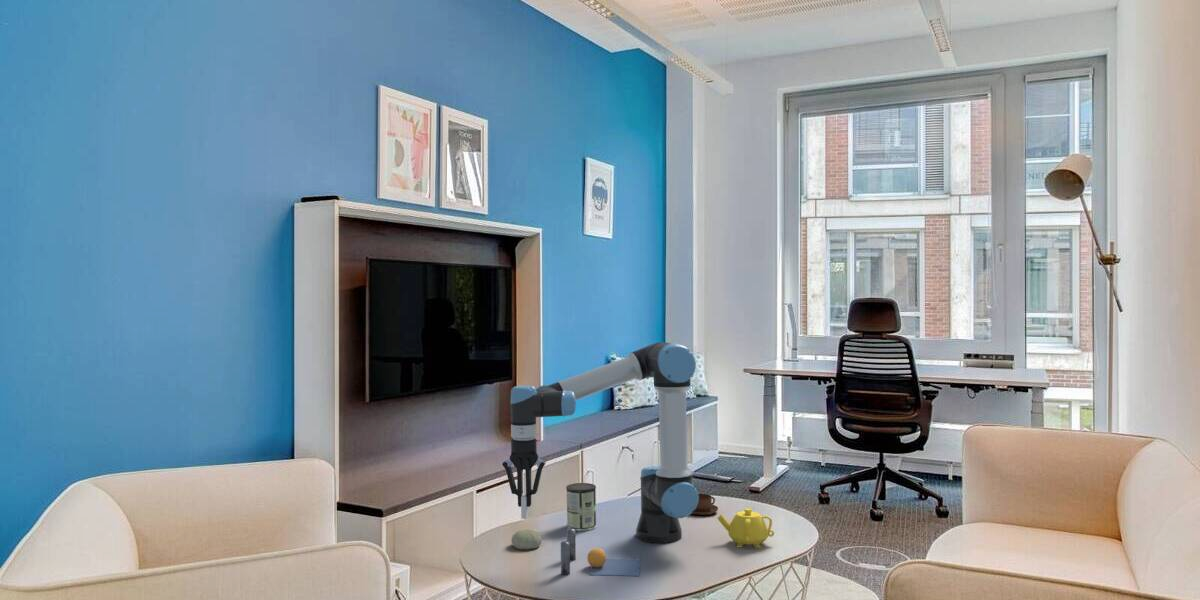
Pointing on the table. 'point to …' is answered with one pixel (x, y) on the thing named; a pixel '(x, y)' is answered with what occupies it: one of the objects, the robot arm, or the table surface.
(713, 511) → the cup and saucer
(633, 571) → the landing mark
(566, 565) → the post
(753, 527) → the teapot
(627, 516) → the table surface
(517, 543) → the sea urchin shell
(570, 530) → the post
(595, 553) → the ball
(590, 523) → the coffee can
